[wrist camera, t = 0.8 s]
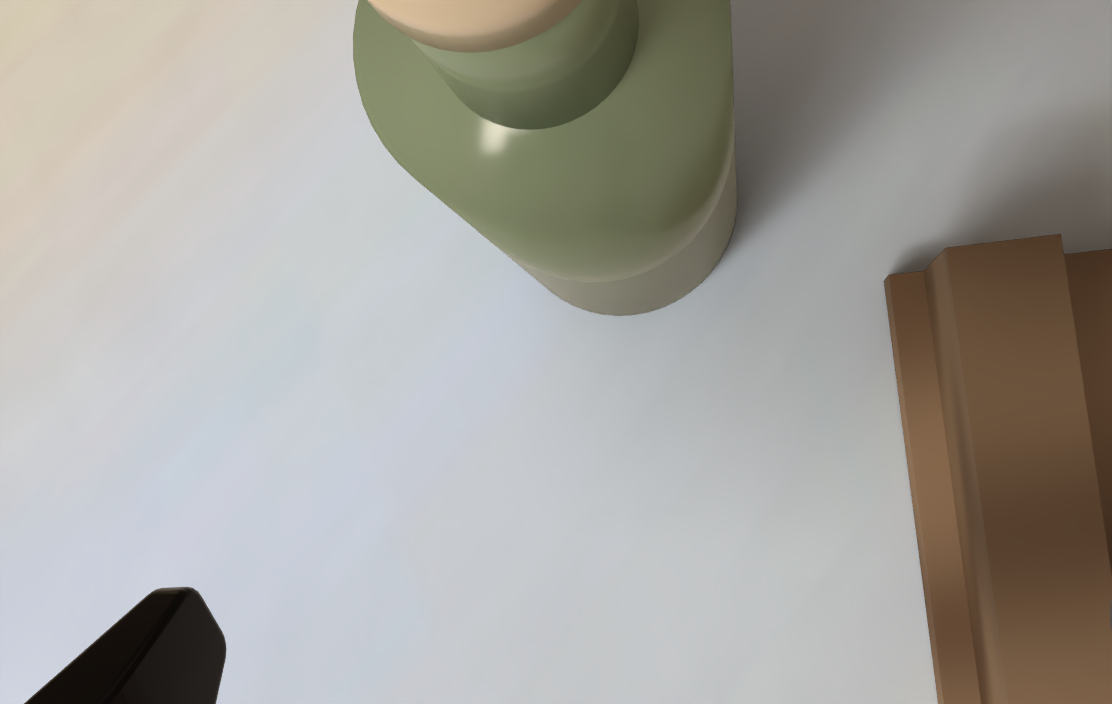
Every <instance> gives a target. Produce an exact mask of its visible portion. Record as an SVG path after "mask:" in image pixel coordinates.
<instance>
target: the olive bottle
mask: <svg viewBox="0 0 1112 704" xmlns="http://www.w3.org/2000/svg"><path fill="white" fill-rule="evenodd" d="M353 60H354V67H355V74H356V81H357V85H358V89H359V92H360V96H361V100H362V103H363V106H364V108H365V111H366V113H367V115H368V118H369V120H370V122H371V125H372V127H373V128H374V130H375V132H376V133H377V135H378V137H379V138H380V140H381V141H382V143H383V145H384V146H385V147H386V149H387V150H388V151H389V152H390V154H391V155H392V156H393V157H394V159H395V160H396V161H397V162H398V163H399V164H400V165H401V166H402V167H403V168H404V169H405V170H406V171H407V172H408V173H409V174H410V175H411V176H413V177H414V178H415V179H416V180H417V181H418V182H419V183H421V184H422V185H423V186H424V187H425V188H427V189H428V190H429V191H430V192H431V193H433V194H434V195H435V196H436V197H437V198H439V199H440V200H441V201H442V202H443V203H445V204H446V205H447V206H448V207H449V208H451V209H452V210H453V211H454V212H455V213H457V214H458V215H459V216H460V217H461V218H463V219H464V220H465V221H466V222H467V223H469V224H470V225H471V226H472V227H473V228H475V229H476V230H477V231H478V232H479V233H481V234H482V235H483V236H484V237H485V238H487V239H488V240H489V241H490V242H491V243H493V244H494V245H495V246H496V247H497V248H499V249H500V250H501V251H502V252H504V253H505V254H506V255H507V256H508V257H510V258H511V259H512V260H513V261H514V262H516V263H517V264H518V265H519V266H520V267H522V268H523V269H524V270H525V271H526V272H528V273H529V274H530V275H531V276H532V277H534V278H535V279H536V280H537V281H538V282H540V283H541V284H542V285H543V286H544V287H546V288H547V289H548V290H549V291H550V292H552V293H553V294H555V295H556V296H557V297H559V298H560V299H562V300H564V301H565V302H567V303H569V304H571V305H573V306H575V307H578V308H581V309H583V310H586V311H589V312H594V313H598V314H603V315H615V316H624V315H636V314H641V313H647V312H650V311H654V310H657V309H660V308H663V307H665V306H667V305H669V304H671V303H674V302H676V301H677V300H679V299H681V298H682V297H684V296H685V295H687V294H688V293H690V292H691V291H692V290H693V289H695V288H696V287H697V286H698V285H699V284H701V283H702V281H703V280H704V279H705V278H706V277H707V276H708V275H709V274H710V273H711V272H712V270H713V269H714V267H715V266H716V265H717V263H718V262H719V260H720V259H721V257H722V255H723V253H724V251H725V249H726V248H727V245H728V243H729V240H730V237H731V235H732V232H733V227H734V223H735V219H736V210H737V184H736V154H735V125H734V96H733V67H732V37H731V11H730V0H359V2H358V6H357V10H356V16H355V24H354V33H353Z"/></svg>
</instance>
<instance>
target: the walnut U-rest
mask: <svg viewBox="0 0 1112 704" xmlns="http://www.w3.org/2000/svg"><path fill="white" fill-rule="evenodd" d="M884 286H885V294H886V301H887V309H888V317H889V325H890V332H891V340H892V348H893V356H894V364H895V371H896V379H897V387H898V395H899V402H900V410H901V418H902V426H903V433H904V441H905V449H906V457H907V465H908V472H909V480H910V488H911V496H912V503H913V511H914V519H915V527H916V535H917V542H918V550H919V558H920V566H921V573H922V581H923V589H924V597H925V605H926V612H927V620H928V628H929V636H930V643H931V651H932V659H933V667H934V675H935V682H936V690H937V698H938V704H1112V631H1111V625H1110V605H1111V599H1112V249H1107V250H1098V251H1089V252H1081V253H1072V254H1064V252H1063V245H1062V238H1061V234H1056V235H1048V236H1040V237H1031V238H1023V239H1015V240H1006V241H998V242H990V243H982V244H973V245H965V246H957V247H948V248H945V249H944V251H943V252H942V253H941V254H940V255H939V256H938V257H937V258H936V259H935V260H934V261H933V262H932V263H931V264H930V265H929V266H928V267H927V268H926V269H925V270H924V271H919V272H911V273H902V274H894V275H889V276H888V277H887V278H886V279H885V281H884Z"/></svg>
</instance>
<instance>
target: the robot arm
mask: <svg viewBox="0 0 1112 704" xmlns="http://www.w3.org/2000/svg"><path fill="white" fill-rule="evenodd" d="M1110 625H1111V631H1112V599H1111V605H1110ZM225 658H226V642H225V638H224V635H223V633H222V631H221V629H220V627H219V626H218V624H217V622H216V620H215V619H214V617H213V615H212V614H211V612H210V610H209V608H208V607H207V605H206V603H205V602H204V600H203V598H202V596H201V595H200V594H199V592H198V591H196V590H195V589H193V588H191V587H174V588H160V589H157V590H155V591H153V592H151V593H150V594H149V595H147V596H146V597H145V598H144V599H143V600H142V601H140V602H139V603H138V604H137V605H136V606H135V607H134V608H132V609H131V610H130V611H129V612H128V613H127V614H126V615H125V616H123V617H122V618H121V619H120V620H119V621H118V622H117V623H115V624H114V625H113V626H112V627H111V628H110V629H109V630H107V631H106V632H105V633H104V634H103V635H102V636H101V637H99V638H98V639H97V640H96V641H95V642H94V643H93V644H91V645H90V646H89V647H88V648H87V649H86V650H85V651H83V652H82V653H81V654H80V655H79V656H78V657H77V658H76V659H74V660H73V661H72V662H71V663H70V664H69V665H68V666H66V667H65V668H64V669H63V670H62V671H61V672H60V673H58V674H57V675H56V676H55V677H54V678H53V679H52V680H50V681H49V682H48V683H47V684H46V685H45V686H44V687H42V688H41V689H40V690H39V691H38V692H37V693H36V694H34V695H33V696H32V697H31V698H30V699H29V700H28V701H27V702H25V703H24V704H216V700H217V695H218V691H219V686H220V682H221V677H222V673H223V668H224V663H225Z"/></svg>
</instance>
